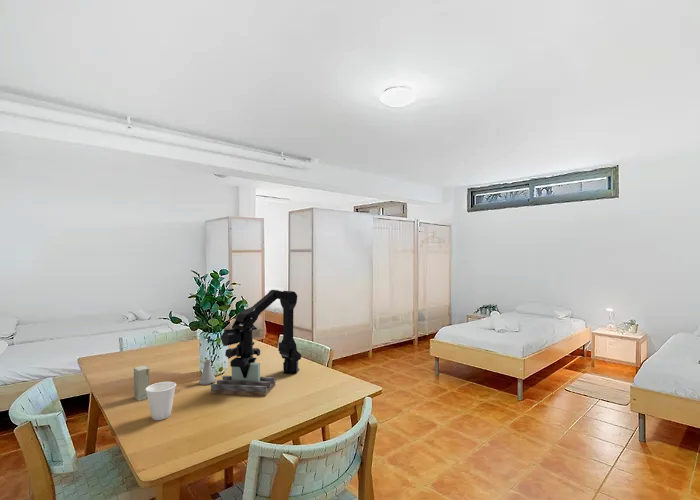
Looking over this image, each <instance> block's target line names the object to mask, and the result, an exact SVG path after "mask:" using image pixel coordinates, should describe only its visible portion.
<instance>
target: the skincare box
mask: <svg viewBox="0 0 700 500" xmlns="http://www.w3.org/2000/svg"><path fill="white" fill-rule="evenodd" d="M150 379H151V378H150V367H148V366H146V365H141V366H136V367H133V388H134V389H133V391H134V392H133V395H134V399H135V400H137V401H138V402H140V401H144V400H148V396H147V391H146V390H145V389H146V388H147V387H148V386H150V385H151V382H150Z"/></svg>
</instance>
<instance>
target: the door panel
mask: <svg viewBox="0 0 700 500" xmlns="http://www.w3.org/2000/svg"><path fill="white" fill-rule="evenodd" d="M231 376H232V380H242V381H260V377H261V363H260V362H254V363H251V364H250V367H249V371H248V374H247V377H246V378H244V377H243V374H242V372H241V369H240V367H231Z"/></svg>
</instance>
